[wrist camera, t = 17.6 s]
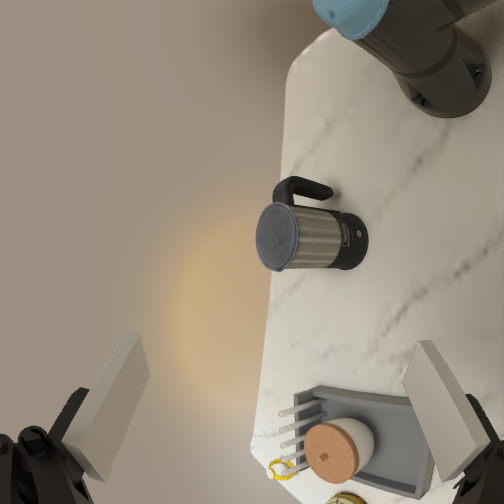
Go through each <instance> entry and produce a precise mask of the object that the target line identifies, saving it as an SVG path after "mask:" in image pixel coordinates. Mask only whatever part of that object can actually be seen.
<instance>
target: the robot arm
mask: <svg viewBox="0 0 504 504" xmlns="http://www.w3.org/2000/svg"><path fill="white" fill-rule="evenodd" d="M495 1H498V0H312V3H313V7H314V9H315V11H316V13H317V14H318V15H319V17H320V18H321V19H322V20H323V21H325V22H326V23H327V24H329V25H330V26H332V27H333V28H335V29H336V30H337V31H338V32H339V33H340V34H341V35H342V36H343V37H344V38H347V39H348V40H351V41H353V42H354V43H356V44H357V45H358V46H360V47H361V48H363V49H364V50H366V51H367V52H368V53H370V54H371V55H372V56H374V57H375V58H377V59H378V60H379V61H380V62H382V63H383V64H384V65H386V66H387V67H388V68H390V69H391V70H392V71H393V73H394V75H395V77H396V79H397V81H398V83H399V85H400V87H401V89H402V91H403V92H404V94H405V95H406V96H407V98H408V99H409V100H410V101H411V102H412V103H414V104H415V105H416V106H417V107H418V108H419V109H421V110H422V111H424V112H425V113H427V114H430V115H432V116H436V117H441V118H453V117H458V116H462V115H464V114H467V113H469V112H471V111H472V110H474V109H475V108H476V107H477V106H478V105H479V104H480V103H481V102H482V101H483V100H484V98H485V97H486V95H487V93H488V91H489V88H490V84H491V68H490V64H489V61H488V59H487V57H486V55H485V53H484V51H483V49H482V48H481V46H480V45H479V43H478V42H477V41H476V40H475V39H474V38H473V37H472V36H471V35H470V34H468V33H467V32H465V31H464V30H463V29H461V28H460V27H458V26H457V25H456V24H454V23H455V22H457V21H459V20H460V19H462V18H464V17H466V16H468V15H470V14H472V13H474V12H476V11H477V10H479V9H481V8H483V7H485V6H487V5H489V4H491V3H493V2H495ZM149 377H150V373H149V370H148V365H147V361H146V357H145V352H144V348H143V344H142V339H141V334H140V333H134V332H127V331H126V332H125V333H124V335H123V336H122V338H121V340H120V341H119V343H118V345H117V346H116V348H115V349H114V351H113V352H112V354H111V356H110V357H109V359H108V360H107V362H106V364H105V365H104V367H103V369H102V370H101V372H100V374H99V375H98V377H97V379H96V380H95V382H94V384H93V385H92V387H91V389H90V390H89V389H86V388H82V387H81V388H79V389H78V390H76V391H75V392H74V393H73V394H72V395H71V397H70V398H69V399H68V401H67V403H66V405H65V406H64V408H63V409H62V412H61V413H60V415H59V416H58V418H57V419H56V421H55V423H54V425H53V426H52V428H51V430H50V431H49V433H48V434H47V433H46V431H45V430H43V429H42V428H41V427H38V426H29V427H27V428H24V429H23V430H22V431H21V432H20V434H19V436H18V443H14V442H13V441H12V440H11V438H10V437H8V436H7V435H5V434H0V504H94V503H93V501H92V498H91V496H90V494H89V492H88V489H87V487H86V484H85V482H84V480H83V478H82V476H83V473H84V471H85V472H86V474H87V475H88V476H89V477H90V478H93V479H96V480H99V481H102V482H104V483H107V481H108V478H109V475H110V473H111V470H112V467H113V465H114V462H115V460H116V457H117V454H118V452H119V449H120V447H121V444H122V442H123V439H124V437H125V434H126V432H127V429H128V427H129V424H130V422H131V419H132V417H133V415H134V412H135V410H136V407H137V405H138V403H139V400H140V398H141V395H142V393H143V391H144V388H145V386H146V384H147V381H148V379H149ZM402 383H403V386H404V388H405V390H406V392H407V395H408V397H409V399H410V401H411V404H412V406H413V408H414V411H415V413H416V416H417V418H418V420H419V423H420V425H421V428H422V430H423V433H424V435H425V438H426V440H427V443H428V445H429V448H430V451H431V453H432V456H433V459H434V461H435V464H436V467H437V470H438V472H439V475H440V478H441V481H442V483H443V482H446V481H449V480H452V479H455V478H456V477H458V476H459V475H460V474H461V473H462V472H463V471H464V474H465V476H464V477H463V478H462V479H461V480H460V481H459V482H458V483H456V484H455V486H454V487H453V489H455V488H456V487H458V486H459V485H460V486H459V489H458V491H457V494H456V496H455V499H454V501H453V504H504V440H502V441H500V439H499V438H498V436H497V434H496V432H495V430H494V428H493V426H492V425H491V423H490V421H489V419H488V417H486V414H485V412H484V410H482V407H481V405H480V404H479V402H478V400H477V399H476V398H474V397H473V396H472V395H471V394H466V395H465V394H464V392H463V390H462V389H461V387H460V385H459V384H458V382H457V380H456V379H455V377H454V375H453V374H452V372H451V371H450V369H449V367H448V366H447V364H446V363H445V361H444V360H443V358H442V356H441V355H440V353H439V352H438V350H437V349H436V347H435V346H434V344H433V343H432V341H431V340H427V341H418V344H417V346H416V349H415V351H414V354H413V356H412V359H411V361H410V364H409V366H408V368H407V371H406V373H405V375H404V377H403V380H402Z"/></svg>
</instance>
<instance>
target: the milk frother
mask: <svg viewBox="0 0 504 504" xmlns="http://www.w3.org/2000/svg"><path fill="white" fill-rule="evenodd" d="M293 194H296V195H300V196H304V197H308V198H312V199H316V200H320V201H323V200H326V199H328V198H330V197H332V196H333V194H334V192H333V190H332V189H331V188H330V187H328V186H326V185H323V184H320V183H317V182H314V181H311V180H308V179H305V178H302V177H298V176H290V177H288V178H286V179H284V180H283V181H281V182H280V183H279V184H278V185H277V186H276V187H275V189H274V191H273V196H272V198H273V203H272V204H270V205H268V206H267V207H266V208H265V209H264V211H263V212H262V214H261V216H260V218H259V221H258V224H257V229H256V247H257V252H258V255H259V258H260V260H261V262H262V263H263V264H264V266H265V267H267V268H268V269H270V270H272V271H276V272H281V271H283V270H284V269H300V268H339V269H341V270H350V269H353V268H354V267H356V266H357V265H359V263H360V262H361V261H362V260H363V258H364V256H365V254H366V251H367V246H368V235H367V231H366V228H365V226H364V224H363V222H362V221H361V220H360V219H359V218H358V217H357V216H355V215H353V214H350V213H344V214H341V213H340V212H339V211H333V210H326V209H320V208H314V207H307V206H301V205H294V199H293Z"/></svg>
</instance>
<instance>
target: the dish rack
mask: <svg viewBox="0 0 504 504" xmlns="http://www.w3.org/2000/svg"><path fill="white" fill-rule="evenodd" d="M293 413H295V423H293V424H290V425H288V426H285V427H282V428H280V429H279V431H280V433H285V432H288V431H290V430H293V429H295V436H296V438H294V439H291V440H289V441H286V442H284V443H281V444H280V447H281V448H282V449H283V448H286V447H289V446H291V445H294V444H296V452H295V453H293V454H290V455H288V456H285V457H283V458H281V461H282V463H285V462H287V461H290V460H292V459H294V458H296V465H297V466H294V467H292V468H290V469H287V470H285V471H282V475H283V476H286V475H289V474H291V473H293V472H296V471H300V472H301V471H303V470H305V469H307V468H309V467H310V465H309V463H308V461H307V459H306V456H305V452H304V440H305V437H306V434H307V432H308V431H309V430H310V429H311V428H312V427H313V426H315V425H318V424H321V423H324V422H327V421H330V420H333V419H337V418H353V419H356V420H359V421H360V422H362V423H364V424H366V425H367V426H368V427H369V428H370V429H371V431H372V432H373V435H374V451H373V454H372V457H371V459H370V460H369V462H368V463H367V464H366V466H365V467H364V468H363V469H362V470H360V471H359V472H358V473H357V474H355V475H354V476H353V477H351V478H350V479H351V480H354V481H357V482H360V483H363V484H365V485H368V486H371V487H375V488H378V489H381V490H384V491H387V492H391V493H394V494H398V495H402V496H405V497H409V498H413V499H417V500H420V499H421V498H422V497H423V496H424V495H425V494H426V492H427V491H428V490H429V487H430V483H431V478H432V473H433V468H434V462H435V461H434V459H433V456H432V453H431V451H430V448H429V445H428V443H427V440H426V438H425V435H424V433H423V430H422V428H421V425H420V423H419V420H418V418H417V416H416V413H415V411H414V408H413V406H412V404H411V401H410V399H409V398H404V397H395V396H386V395H378V394H370V393H363V392H356V391H349V390H343V389H337V388H331V387H326V386H318V387H315V388H312V389H309V390H306V391H303V392H300V393H297V394H294V407H293V408H290V409H286V410H283V411H280V412H279V413H278V415H279V417H284V416H287V415H290V414H293Z"/></svg>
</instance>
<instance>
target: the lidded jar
mask: <svg viewBox="0 0 504 504" xmlns="http://www.w3.org/2000/svg"><path fill="white" fill-rule="evenodd" d="M373 451H374V435H373V432H372V431H371V429H370V428H369V427H368V426H367V425H366V424H364V423H362V422H360V421H359V420H356V419H353V418H337V419H333V420H330V421H327V422H324V423H321V424H318V425H315V426H313V427H312V428H311V429H310V430H309V431H308V432H307V434H306V437H305V440H304V452H305V456H306V459H307V461H308V463H309V465H310V467H311V469H312V470H313V471H314V472H315V474H317V475H318V476H319V477H320V478H321V479H323V480H325V481H327V482H329V483H335V484H339V483H343V482H345V481H347V480H349V479H350V478H351V477H353V476H354V475H355V474H357V473H358V472H359V471H360V470H362V469H363V468H364V467H365V466H366V464H367V463H368V462H369V460H370V459H371V457H372V454H373Z"/></svg>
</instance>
